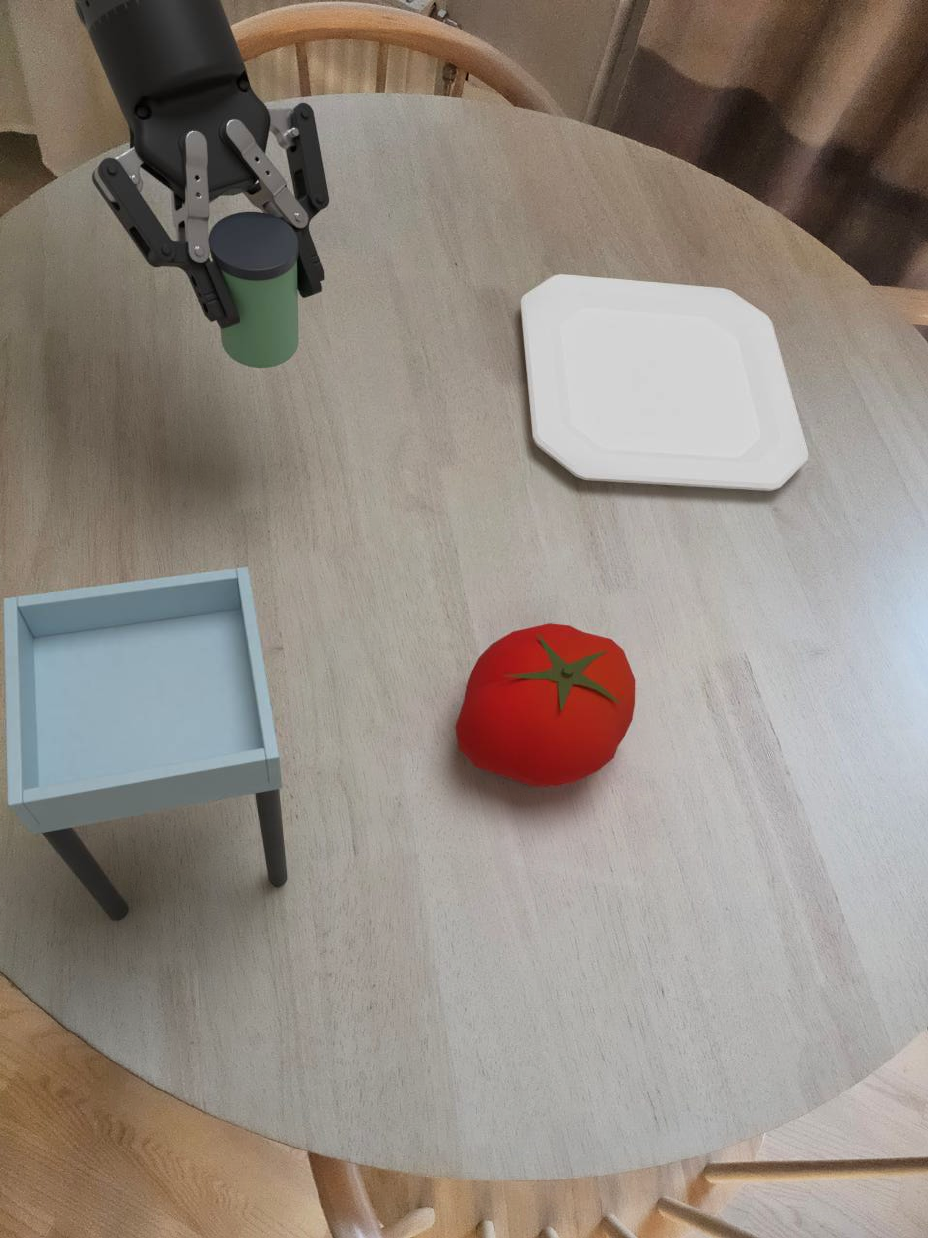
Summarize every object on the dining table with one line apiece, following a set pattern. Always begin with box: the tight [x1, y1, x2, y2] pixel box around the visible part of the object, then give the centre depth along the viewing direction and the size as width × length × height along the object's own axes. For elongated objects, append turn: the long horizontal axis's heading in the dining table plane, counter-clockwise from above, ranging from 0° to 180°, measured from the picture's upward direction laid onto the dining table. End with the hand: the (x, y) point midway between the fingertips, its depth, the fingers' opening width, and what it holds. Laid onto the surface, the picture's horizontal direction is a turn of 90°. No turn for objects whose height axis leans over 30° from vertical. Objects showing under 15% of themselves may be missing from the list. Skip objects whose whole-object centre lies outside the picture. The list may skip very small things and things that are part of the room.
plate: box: [519, 273, 810, 492], centre depth 86 cm, size 25×25×2 cm
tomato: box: [455, 622, 637, 788], centre depth 64 cm, size 11×13×10 cm
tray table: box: [2, 566, 289, 922], centre depth 52 cm, size 11×10×22 cm
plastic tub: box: [208, 211, 299, 369], centre depth 60 cm, size 5×5×8 cm
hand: (272, 308), depth 59 cm, fingers closed on plastic tub, 5 cm apart
